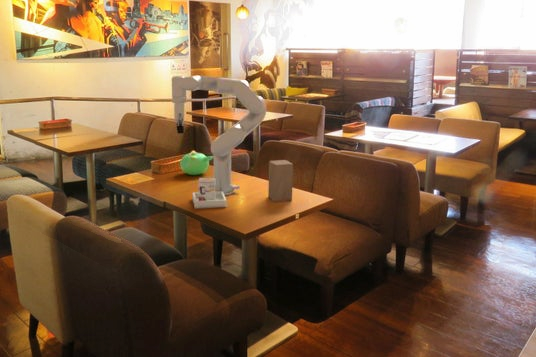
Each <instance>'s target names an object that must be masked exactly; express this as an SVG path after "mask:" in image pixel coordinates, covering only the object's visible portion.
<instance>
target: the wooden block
mask: <svg viewBox="0 0 536 357" xmlns="http://www.w3.org/2000/svg"><path fill="white" fill-rule="evenodd" d="M293 178H294V164H293V163H292V162H290V161H289V160H288V159H287V160H286V159H278V160H277V159H276V160H269V161H268V192H267V193H268V198H270V199H271V200H272V201H273V202H274V203H276V202H287V201H292V200H293V183H294V179H293Z"/></svg>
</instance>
